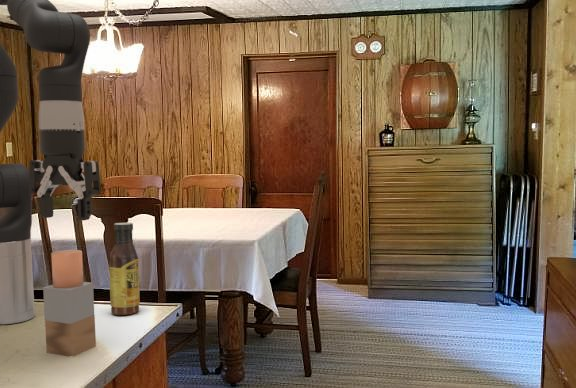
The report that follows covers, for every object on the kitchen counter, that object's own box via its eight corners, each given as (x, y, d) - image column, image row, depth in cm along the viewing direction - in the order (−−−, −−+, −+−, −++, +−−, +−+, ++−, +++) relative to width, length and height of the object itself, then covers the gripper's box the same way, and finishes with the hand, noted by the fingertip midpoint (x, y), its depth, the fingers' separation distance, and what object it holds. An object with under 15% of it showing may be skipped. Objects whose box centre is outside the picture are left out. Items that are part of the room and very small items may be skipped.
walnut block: (46, 352, 108) (45, 320, 108) (70, 342, 114) (69, 311, 113) (72, 357, 106) (70, 323, 105) (95, 346, 111) (94, 314, 111)
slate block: (44, 320, 108) (43, 287, 107) (69, 311, 113) (67, 280, 113) (70, 324, 105) (69, 290, 105) (94, 314, 111) (93, 282, 110)
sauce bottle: (132, 317, 130) (129, 225, 128) (105, 315, 131) (102, 225, 129) (145, 308, 136) (142, 221, 134) (119, 307, 137) (116, 221, 135)
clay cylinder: (46, 287, 108) (44, 253, 107) (67, 280, 112) (66, 248, 112) (69, 289, 106) (67, 255, 105) (89, 282, 110) (88, 250, 110)
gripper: (14, 127, 106) (19, 219, 107) (78, 126, 100) (81, 223, 101) (47, 128, 112) (51, 214, 114) (108, 127, 107) (111, 218, 108)
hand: (65, 218), depth 108 cm, fingers open, 8 cm apart
